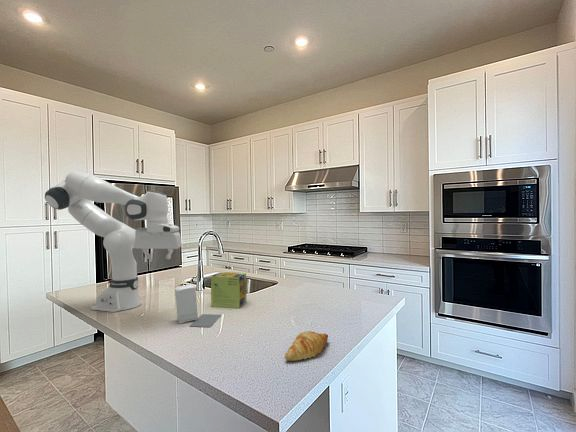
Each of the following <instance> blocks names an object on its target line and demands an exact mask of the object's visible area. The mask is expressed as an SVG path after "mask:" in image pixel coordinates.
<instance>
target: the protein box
mask: <svg viewBox="0 0 576 432" xmlns="http://www.w3.org/2000/svg"><path fill="white" fill-rule="evenodd" d="M246 303H247V272H233V271H230V272H227V271H219V272H217V273H215V274H212V275H210V306H211V307H214V308H215V307H216V308H217V307H218V308H229V309H230V308H231V309H240V308H241V307H243V306H244V305H245V304H246Z"/></svg>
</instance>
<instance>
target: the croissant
mask: <svg viewBox="0 0 576 432" xmlns="http://www.w3.org/2000/svg"><path fill="white" fill-rule="evenodd" d="M328 338H329V335H328V334H326V333H319V332H316V331H310V330H309V331H304V332H300V333H299V334H298V335H296V337H295V339H294V340H293V342H292V345H291V346H290V347H288V349H287V352H285V353H284V359H285V360H286V361H288V362H289V361H290V362H293V361H295V362H296V361H301V360H302V359H304V360H308V359H307V358H309V359H312V358H311V357H314V358H315V357H316V356H317V354H318V353H319V354H320V353H321V352H322V351H323V349H324V348H325V346H326V345H327V343H328ZM319 354H318V355H319ZM302 361H303V360H302Z"/></svg>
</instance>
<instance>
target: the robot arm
mask: <svg viewBox="0 0 576 432" xmlns="http://www.w3.org/2000/svg"><path fill="white" fill-rule="evenodd" d="M44 199H45V201H46V203H47V204H48V205H49V206H50V207H51V208H52V209H54V210H58V211H59V210H64V209H67V208H68V209H67V210H68V213H69V214H70V215H71V217H72V218H74V219H75V220H76V221H77V222H78V223H79V224H80V225H82V226H83V227H85V229H88V230H89V231H90V232H92V233H93V234H94V235H96V236H98V237H102V238H103V242H102V243H103V248H104V249H105V250H106V252H107V253H108V255H109V256H108V257H109V259H110V263H111V279H110V280H107V282H106V284H108V287H107V288H105V289H104V290H103V291H102V292H101V293H99V294H98V296H97V298H96V302H95V303H94V304H93V305H91V307H90V310H93V311H94V310H95V311H100V312H111V313H115V312H121V311H125V310H130V309H134V308H137V307H139V306H141V305H142V301H141V299H140V294H139V289H138V288H139V277H138V271H137V270H138V266H137V265H138V264H137V263H138V262H137V261H136V259H135V256H134V253H133V249H137V250H139V249H141V250H142V252H143V254H144V255H145V259H146V260H150V259H151V256H152V255H151V253H149V252H148V251H149V249H151V250H152V249H154V250H155V249H157V250H158V249H159V250H165V249H166V250H167V252H168V253H167V254H166V255H165V259H166V260H171V258H172V254H173V252H174V250H177V249H180V248H181V247H182V237H181V233H180V227H179V226H178V225H175V224H171V223H169V218H168V213H169V206H168V204H169V202H168V197H167V194H166V193H164V192H162V191H157V190H148V191H147V192H146V193H145V194H143V195H141V196H139V195H136V194H134V193H132V192H128V191H126V190H124V189H121V188H120V187H118V186H116V185H115V184H114V185H113V184H112V183H110V182H108V181H106V180H104V179H102V178H100V177H98V176H96V175H94V174H91V173H88V172H86V171H80V170H74V171H71V172H69V173H68V174H66V177H65V179H64V180H62V181H61V182H60V183H58V184H56V185H55V186H54V187H53V186H52V187H50V188H49V189H47V191H45V193H44ZM93 202H94V203H102V204H103V203H104V204H105V203H106V204H119V205H122V206H124V213H125V215H126V217H127V218H128V219H130V220H133V221H146V227H138V228H136V229H135V228H132V227H131V226H129V225H127V224H125V223H124V222H122V221H120V220H118V219H116V218H115V217H113V216H111V215H110V214H108V213H107V212H105V211H104V210H103V209H102V208H100V207H99V206H97V205H96V204H94V203H93Z"/></svg>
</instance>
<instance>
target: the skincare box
mask: <svg viewBox="0 0 576 432" xmlns="http://www.w3.org/2000/svg"><path fill="white" fill-rule="evenodd" d="M174 294H175V304H176V314H177V321H178V323H179V324H183V323H188V322H191V321H195V320H197V319H198V318H199V314H198V306H197V305H198V304H197V303H198V302H197V293H196V286H195V285H194V283H191V284H187V285H182V286H176V287H174Z"/></svg>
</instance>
